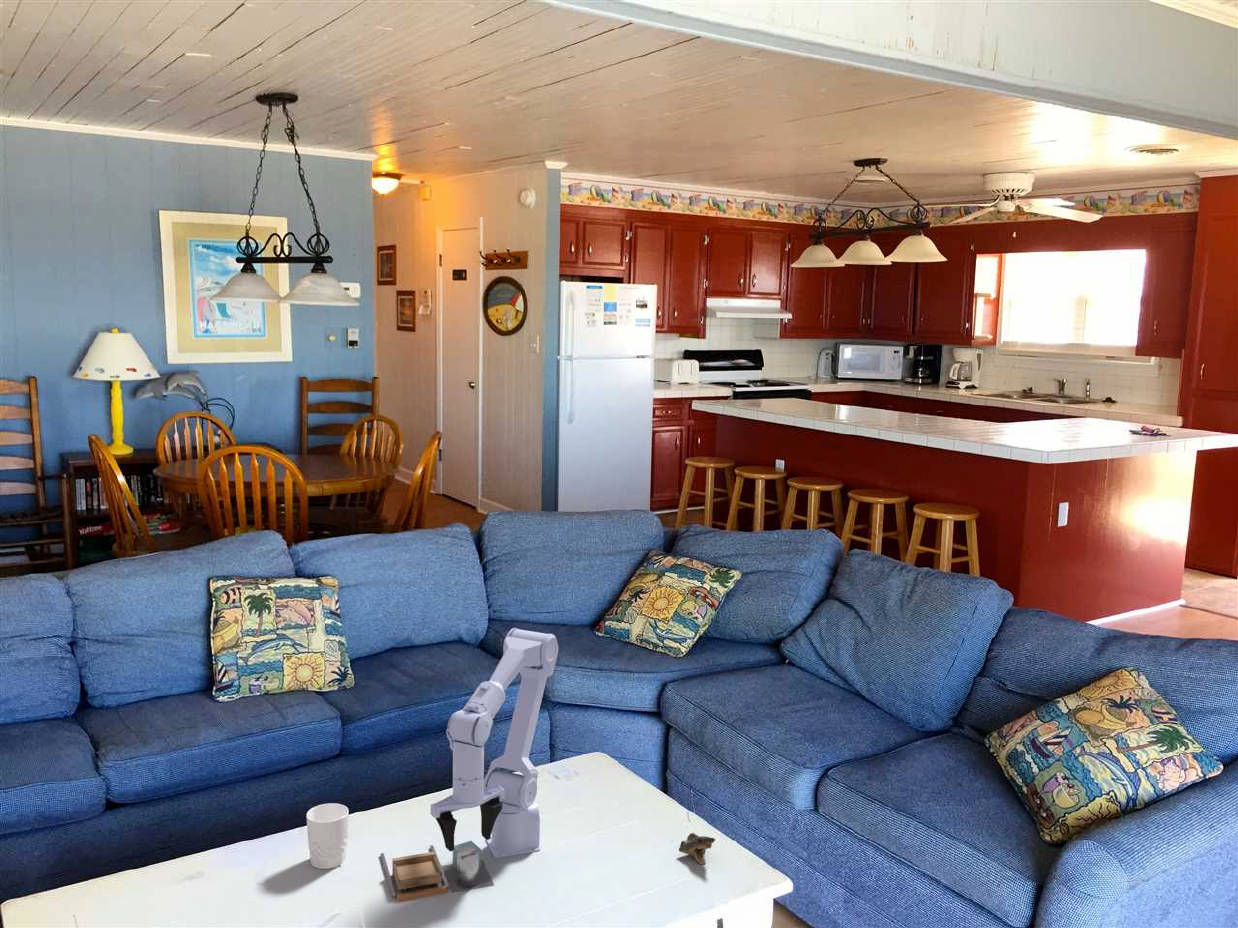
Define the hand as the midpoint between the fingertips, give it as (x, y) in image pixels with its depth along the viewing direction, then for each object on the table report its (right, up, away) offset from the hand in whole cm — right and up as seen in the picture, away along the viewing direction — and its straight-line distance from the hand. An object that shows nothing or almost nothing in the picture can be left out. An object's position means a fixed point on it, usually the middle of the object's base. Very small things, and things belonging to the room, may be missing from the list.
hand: (467, 842), depth 190 cm
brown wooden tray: (-10, -8, +1) cm, 13 cm away
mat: (-1, -8, +4) cm, 9 cm away
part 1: (-1, -7, +6) cm, 10 cm away
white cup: (-29, -7, +8) cm, 31 cm away
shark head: (+44, -8, +12) cm, 47 cm away
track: (-11, -7, +4) cm, 14 cm away
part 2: (0, -8, +1) cm, 8 cm away
